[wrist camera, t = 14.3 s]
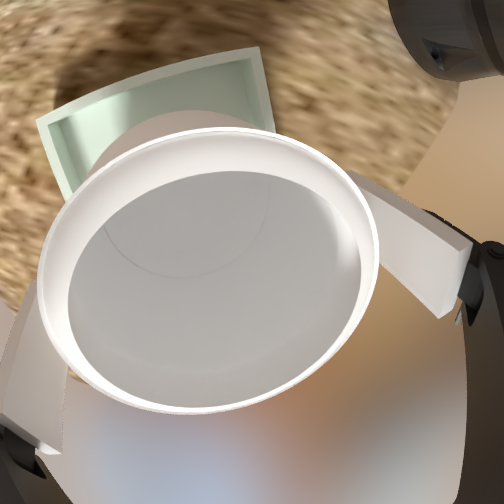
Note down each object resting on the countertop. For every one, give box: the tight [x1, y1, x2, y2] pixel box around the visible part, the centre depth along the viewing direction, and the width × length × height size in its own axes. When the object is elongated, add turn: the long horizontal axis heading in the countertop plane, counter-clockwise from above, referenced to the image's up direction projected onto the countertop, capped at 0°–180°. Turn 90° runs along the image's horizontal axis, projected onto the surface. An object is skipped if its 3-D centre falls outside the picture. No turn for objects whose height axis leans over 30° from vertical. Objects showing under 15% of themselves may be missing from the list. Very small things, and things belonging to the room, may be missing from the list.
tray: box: [35, 46, 276, 202], centre depth 19 cm, size 14×15×4 cm
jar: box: [37, 110, 379, 415], centre depth 14 cm, size 11×10×15 cm
